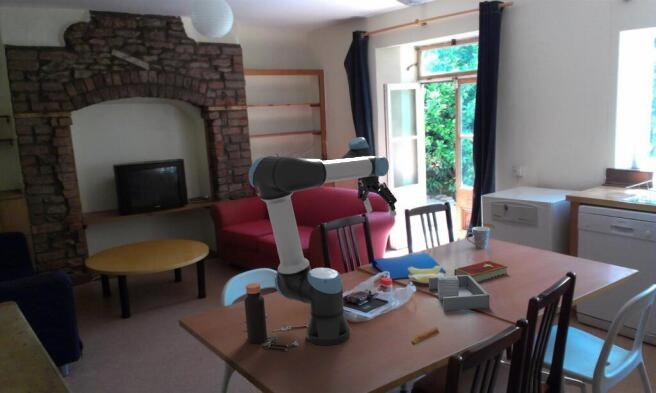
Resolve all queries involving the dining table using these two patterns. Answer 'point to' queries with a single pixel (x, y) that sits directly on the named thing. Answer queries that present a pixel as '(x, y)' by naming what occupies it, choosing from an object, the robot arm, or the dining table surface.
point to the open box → (467, 301)
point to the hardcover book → (482, 270)
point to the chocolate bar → (425, 335)
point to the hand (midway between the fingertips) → (381, 213)
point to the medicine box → (448, 286)
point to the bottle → (255, 314)
